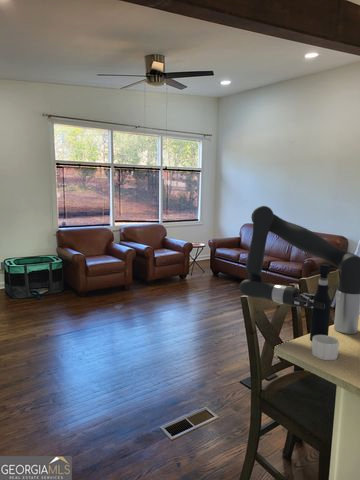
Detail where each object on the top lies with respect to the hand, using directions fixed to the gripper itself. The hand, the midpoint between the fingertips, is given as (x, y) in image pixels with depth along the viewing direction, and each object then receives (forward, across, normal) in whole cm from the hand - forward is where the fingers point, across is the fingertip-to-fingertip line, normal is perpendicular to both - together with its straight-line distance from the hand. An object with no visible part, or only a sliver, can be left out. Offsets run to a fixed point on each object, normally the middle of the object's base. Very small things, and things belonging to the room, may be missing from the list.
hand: (327, 304), depth 130 cm
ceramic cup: (+3, -7, +17) cm, 18 cm away
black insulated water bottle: (-2, 0, +15) cm, 15 cm away
